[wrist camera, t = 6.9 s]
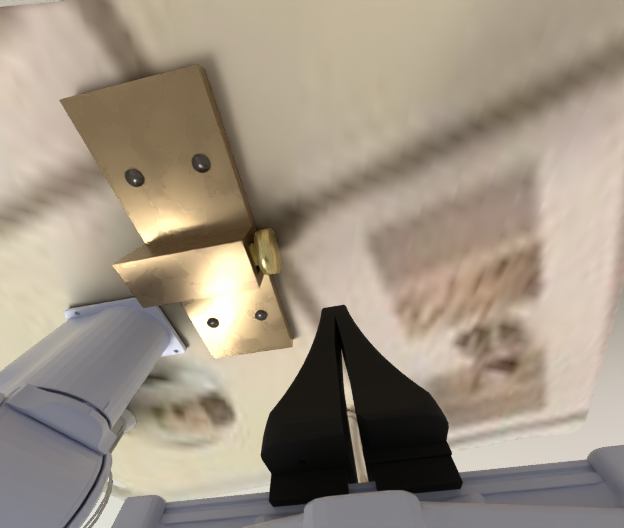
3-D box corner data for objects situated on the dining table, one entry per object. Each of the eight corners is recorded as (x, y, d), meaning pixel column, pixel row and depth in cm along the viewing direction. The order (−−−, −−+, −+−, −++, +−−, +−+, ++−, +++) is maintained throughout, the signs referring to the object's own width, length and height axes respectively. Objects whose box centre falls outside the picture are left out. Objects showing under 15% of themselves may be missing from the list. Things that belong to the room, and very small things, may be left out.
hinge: (212, 351, 26) (197, 384, 23) (65, 104, 15) (-10, 93, 11) (293, 339, 25) (290, 371, 22) (204, 68, 14) (169, 45, 10)
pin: (174, 278, 21) (151, 303, 18) (154, 244, 19) (124, 264, 16) (282, 259, 20) (277, 282, 17) (271, 221, 19) (264, 238, 15)
